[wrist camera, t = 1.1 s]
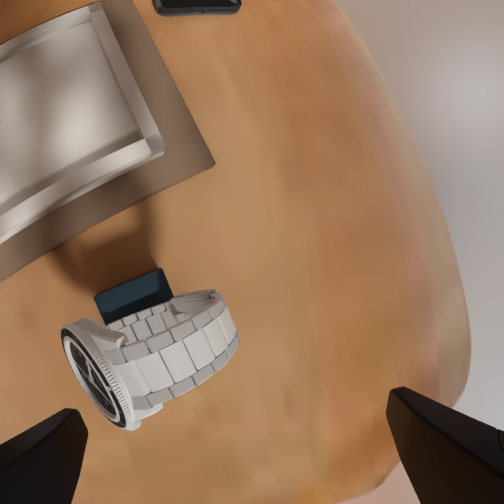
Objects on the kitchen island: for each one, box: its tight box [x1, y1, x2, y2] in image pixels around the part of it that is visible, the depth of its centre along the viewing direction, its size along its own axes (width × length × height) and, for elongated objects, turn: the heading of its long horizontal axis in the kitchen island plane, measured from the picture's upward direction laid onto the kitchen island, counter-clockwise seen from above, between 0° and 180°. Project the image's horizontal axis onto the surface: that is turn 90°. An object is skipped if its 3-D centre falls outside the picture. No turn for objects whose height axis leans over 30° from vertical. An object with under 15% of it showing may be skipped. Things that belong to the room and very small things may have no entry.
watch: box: [61, 268, 240, 431], centre depth 15 cm, size 6×8×11 cm
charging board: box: [0, 0, 216, 282], centre depth 15 cm, size 24×18×4 cm
